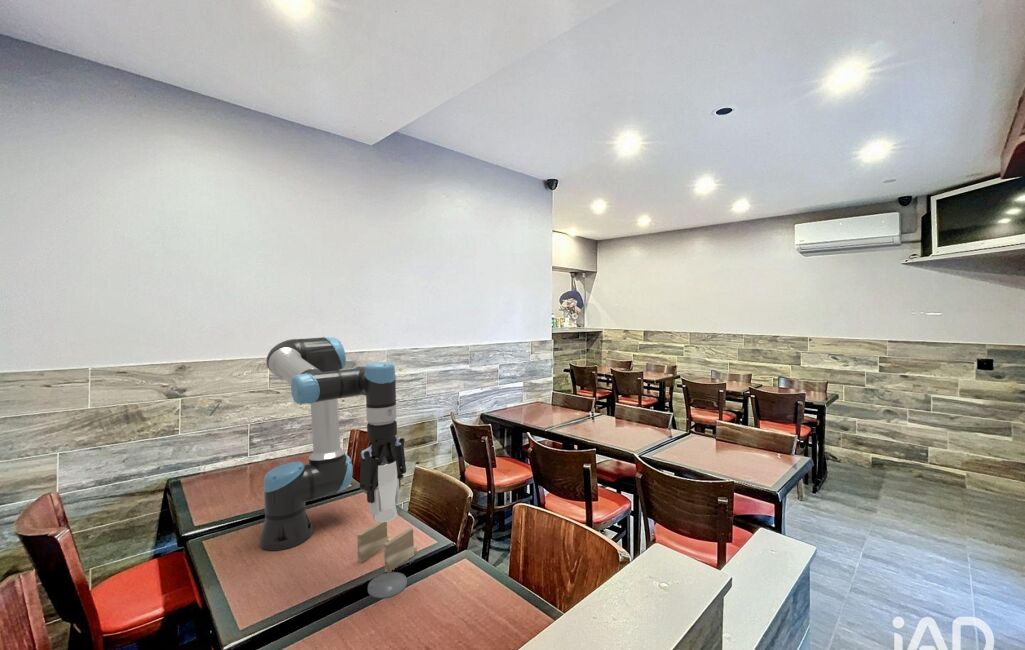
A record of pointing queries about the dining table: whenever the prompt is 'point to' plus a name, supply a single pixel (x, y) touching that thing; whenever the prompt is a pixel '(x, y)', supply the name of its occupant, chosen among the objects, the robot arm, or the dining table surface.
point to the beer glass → (386, 491)
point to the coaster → (387, 585)
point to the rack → (386, 545)
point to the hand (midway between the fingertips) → (385, 507)
